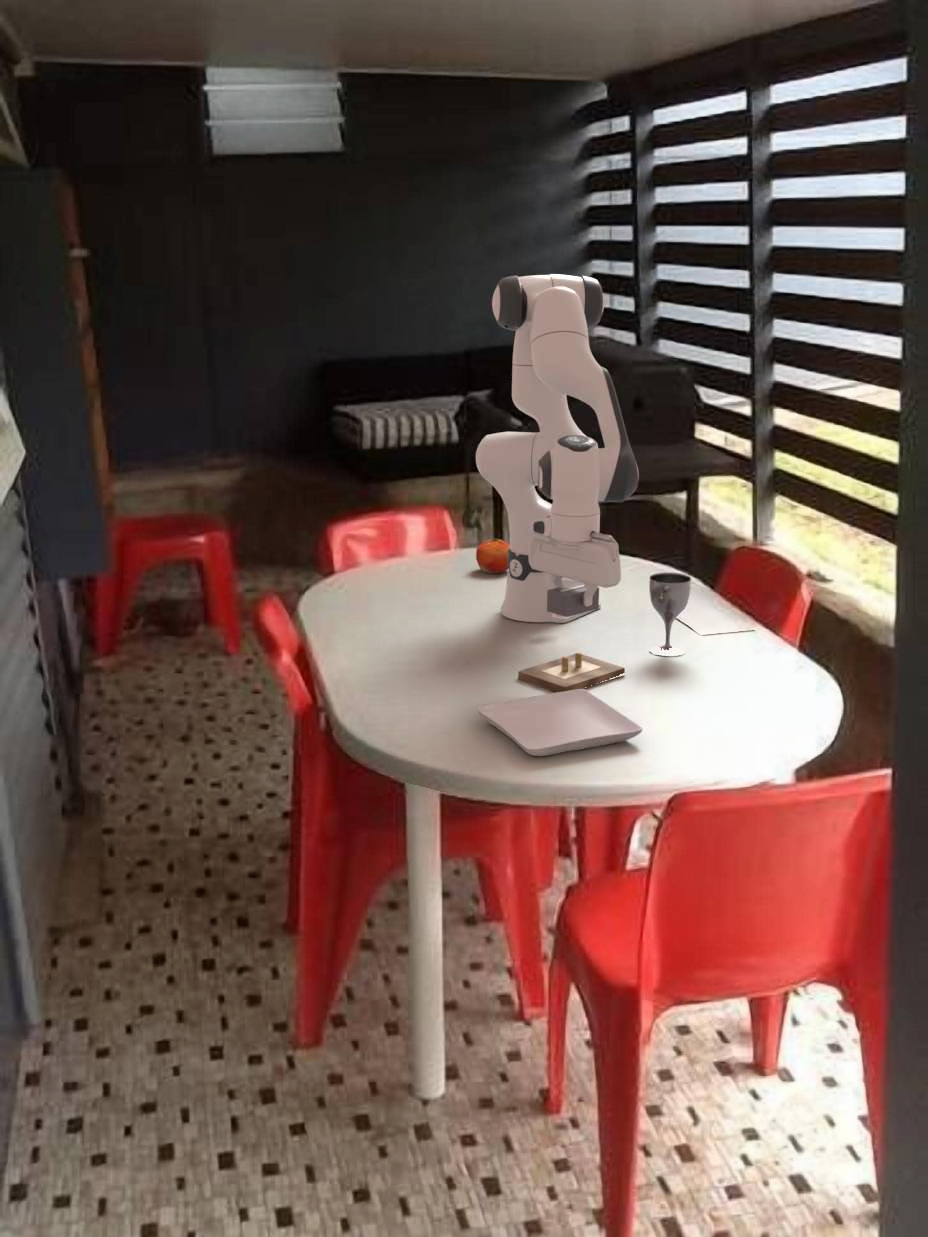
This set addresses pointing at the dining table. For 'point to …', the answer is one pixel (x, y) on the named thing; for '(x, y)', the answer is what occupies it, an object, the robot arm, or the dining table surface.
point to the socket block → (570, 600)
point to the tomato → (493, 556)
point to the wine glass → (669, 597)
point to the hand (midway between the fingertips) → (573, 601)
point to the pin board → (570, 673)
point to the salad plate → (559, 722)
